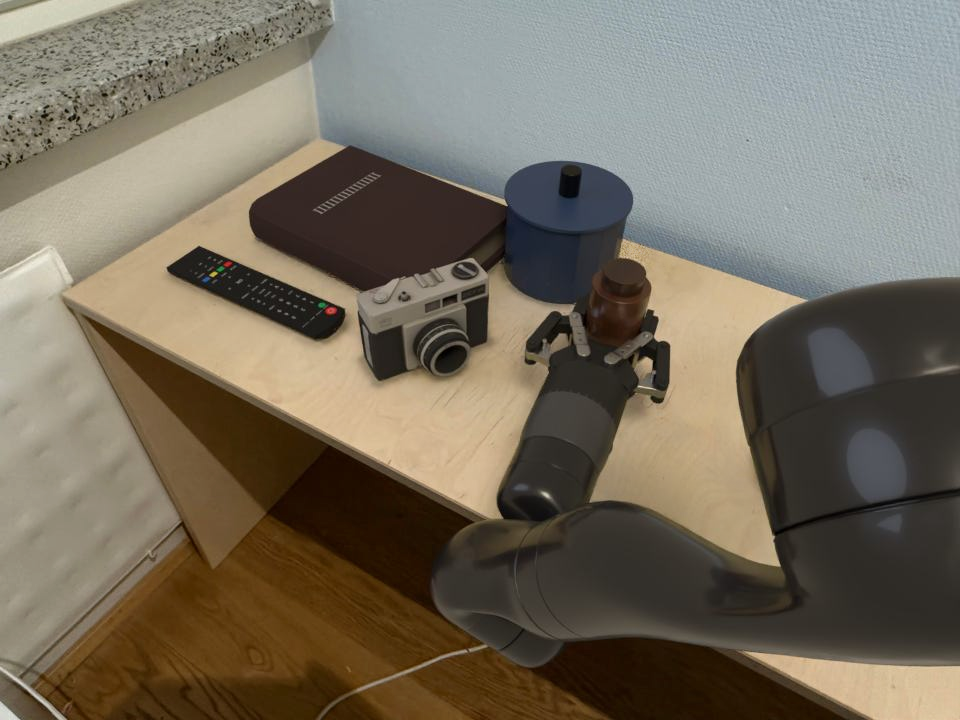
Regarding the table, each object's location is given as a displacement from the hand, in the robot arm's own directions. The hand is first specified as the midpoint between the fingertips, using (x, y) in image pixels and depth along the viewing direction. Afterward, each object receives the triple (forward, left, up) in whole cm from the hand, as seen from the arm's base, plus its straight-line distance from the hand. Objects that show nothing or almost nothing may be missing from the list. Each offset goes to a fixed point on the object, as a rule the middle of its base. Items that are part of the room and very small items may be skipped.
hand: (619, 308), depth 69 cm
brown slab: (+33, -6, -8) cm, 35 cm away
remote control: (+41, +10, -8) cm, 43 cm away
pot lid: (+11, -13, +3) cm, 17 cm away
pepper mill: (0, +2, -7) cm, 7 cm away
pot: (+11, -13, -8) cm, 19 cm away
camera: (+17, +9, -8) cm, 21 cm away
